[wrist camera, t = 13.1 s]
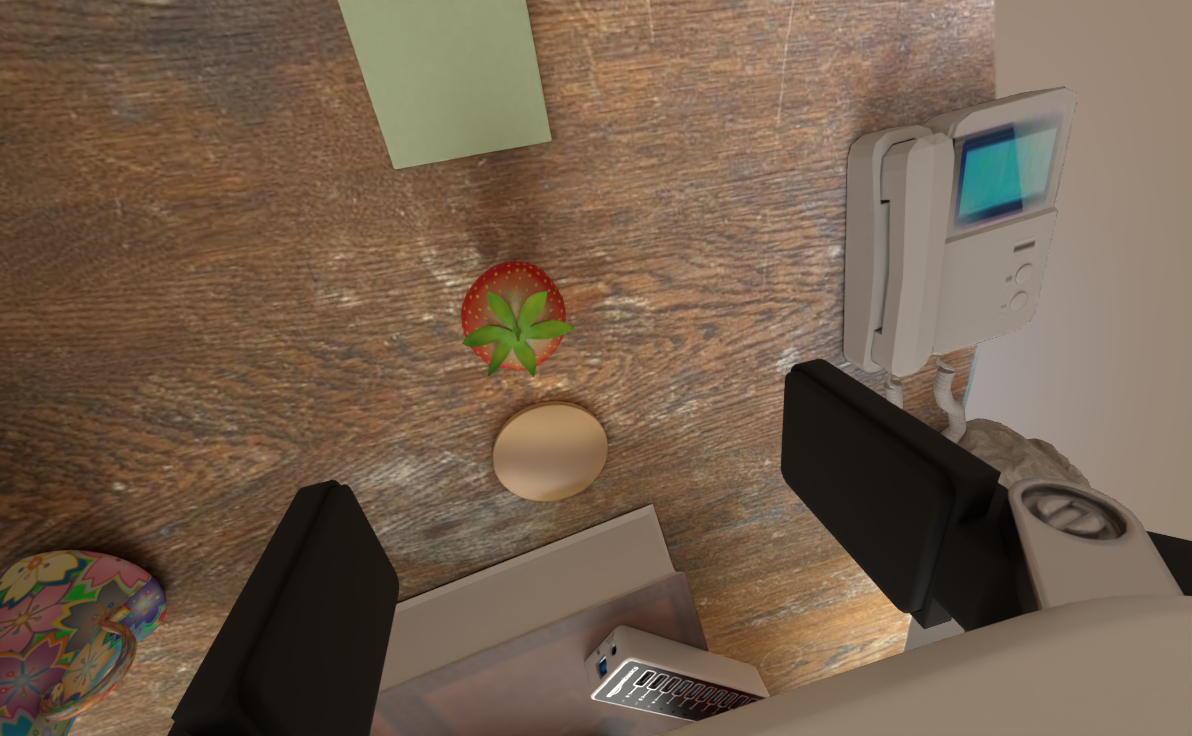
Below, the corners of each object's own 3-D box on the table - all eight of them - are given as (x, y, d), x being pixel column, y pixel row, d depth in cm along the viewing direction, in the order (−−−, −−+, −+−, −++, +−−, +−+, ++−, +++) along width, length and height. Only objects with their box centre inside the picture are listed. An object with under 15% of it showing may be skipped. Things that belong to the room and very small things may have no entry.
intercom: (879, 501, 34) (906, 134, 23) (839, 466, 38) (846, 139, 27) (1032, 447, 35) (1126, 75, 24) (978, 419, 39) (1038, 88, 28)
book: (494, 779, 47) (495, 867, 41) (351, 621, 34) (323, 717, 28) (711, 688, 48) (742, 760, 43) (652, 503, 36) (684, 571, 30)
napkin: (327, -35, 19) (324, -39, 19) (514, -58, 20) (514, -63, 20) (395, 169, 23) (394, 169, 22) (551, 141, 24) (552, 140, 23)
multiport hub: (721, 700, 37) (734, 731, 35) (581, 664, 31) (587, 699, 29) (757, 666, 36) (773, 697, 34) (619, 623, 30) (628, 657, 28)
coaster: (478, 417, 29) (478, 422, 29) (597, 387, 30) (598, 392, 30) (508, 508, 33) (508, 514, 32) (613, 479, 34) (615, 484, 33)
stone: (932, 517, 30) (919, 377, 40) (847, 617, 41) (853, 488, 51) (1299, 633, 24) (1176, 435, 34) (1085, 714, 35) (1039, 546, 46)
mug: (77, 658, 31) (-106, 881, 21) (-50, 570, 26) (-349, 800, 17) (253, 593, 31) (152, 780, 22) (158, 497, 27) (-18, 678, 18)
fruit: (553, 336, 28) (574, 396, 21) (466, 336, 27) (458, 399, 20) (557, 248, 26) (582, 282, 19) (463, 243, 25) (452, 278, 18)
